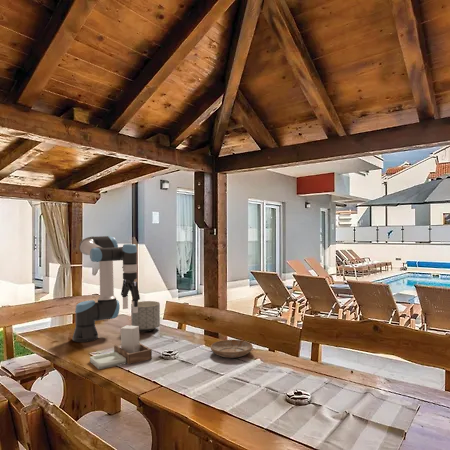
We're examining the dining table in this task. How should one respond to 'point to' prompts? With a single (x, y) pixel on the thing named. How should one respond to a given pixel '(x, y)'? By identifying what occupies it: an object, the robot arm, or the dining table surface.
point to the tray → (107, 360)
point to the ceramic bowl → (231, 348)
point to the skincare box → (130, 339)
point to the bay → (135, 354)
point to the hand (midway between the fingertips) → (130, 310)
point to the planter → (146, 315)
